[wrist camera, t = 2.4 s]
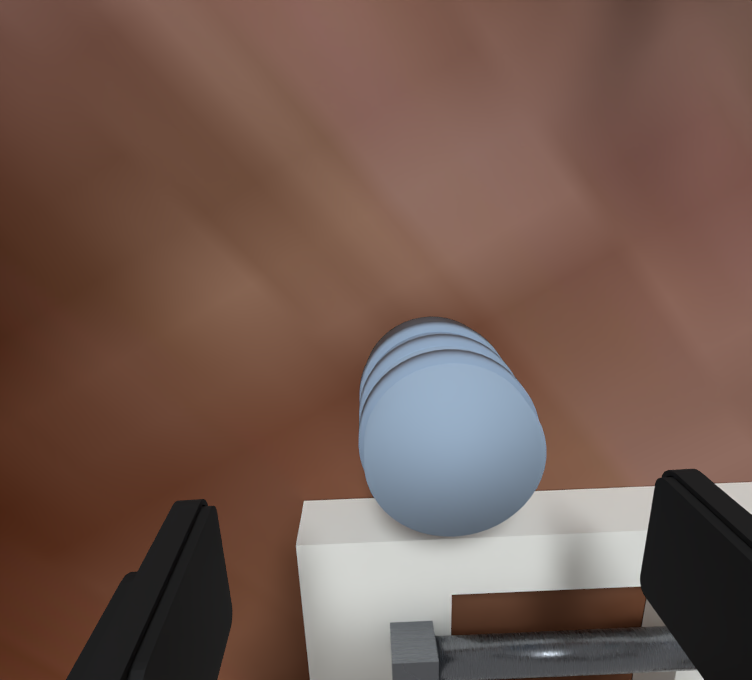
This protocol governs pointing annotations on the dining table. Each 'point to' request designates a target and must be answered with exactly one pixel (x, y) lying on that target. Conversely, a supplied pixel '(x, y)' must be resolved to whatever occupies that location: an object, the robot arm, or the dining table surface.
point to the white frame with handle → (459, 568)
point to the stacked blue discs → (446, 430)
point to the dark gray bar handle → (531, 653)
